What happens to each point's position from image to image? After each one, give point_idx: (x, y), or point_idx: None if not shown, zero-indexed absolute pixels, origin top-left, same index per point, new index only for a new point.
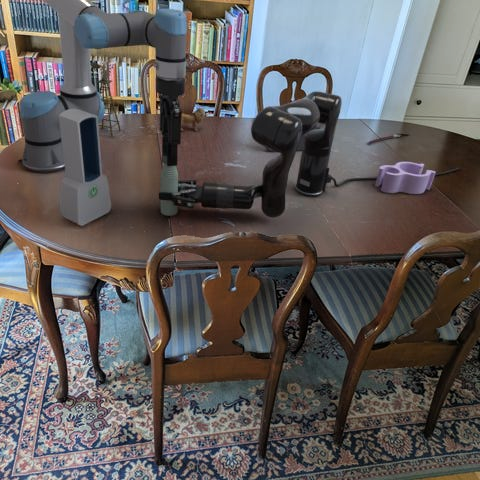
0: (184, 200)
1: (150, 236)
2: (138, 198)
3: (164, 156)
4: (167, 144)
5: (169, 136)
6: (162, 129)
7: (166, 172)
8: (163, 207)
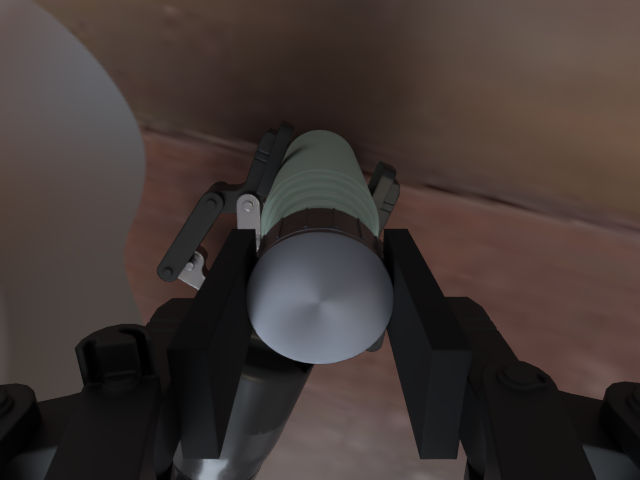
0: (177, 237)
1: (124, 26)
2: (484, 57)
3: (280, 242)
4: (94, 341)
5: (47, 471)
6: (540, 436)
7: (279, 207)
8: (297, 141)
